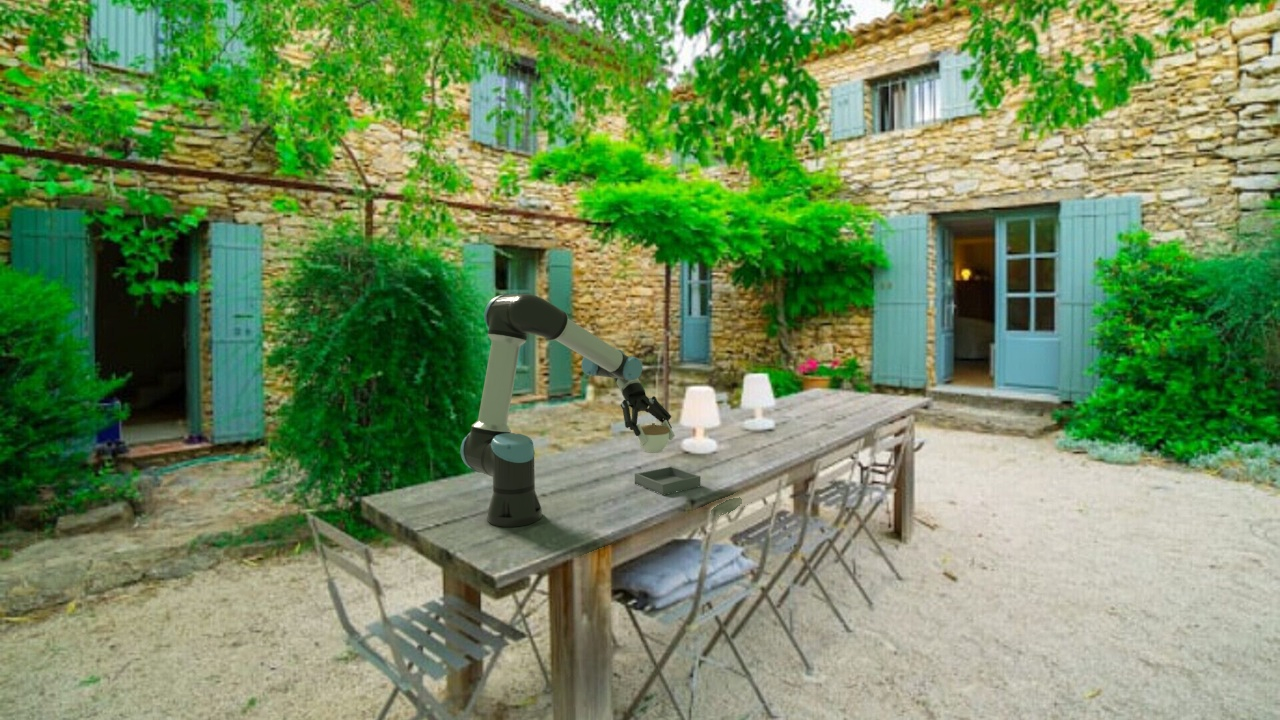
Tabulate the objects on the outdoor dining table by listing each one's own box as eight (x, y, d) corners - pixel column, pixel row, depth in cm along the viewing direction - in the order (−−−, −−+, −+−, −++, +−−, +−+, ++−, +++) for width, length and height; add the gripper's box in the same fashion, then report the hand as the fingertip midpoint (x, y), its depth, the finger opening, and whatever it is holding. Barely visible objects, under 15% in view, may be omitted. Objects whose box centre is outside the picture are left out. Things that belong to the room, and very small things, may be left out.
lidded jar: (669, 447, 214) (669, 420, 213) (669, 455, 203) (669, 426, 202) (638, 446, 215) (638, 420, 214) (636, 454, 204) (636, 426, 203)
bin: (662, 495, 197) (662, 484, 197) (634, 483, 210) (634, 473, 209) (700, 486, 206) (700, 476, 206) (671, 476, 219) (671, 466, 218)
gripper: (652, 391, 226) (680, 441, 215) (599, 398, 213) (625, 452, 202) (662, 378, 221) (690, 429, 211) (607, 384, 208) (635, 438, 197)
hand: (659, 440), depth 206 cm, fingers closed on lidded jar, 11 cm apart
